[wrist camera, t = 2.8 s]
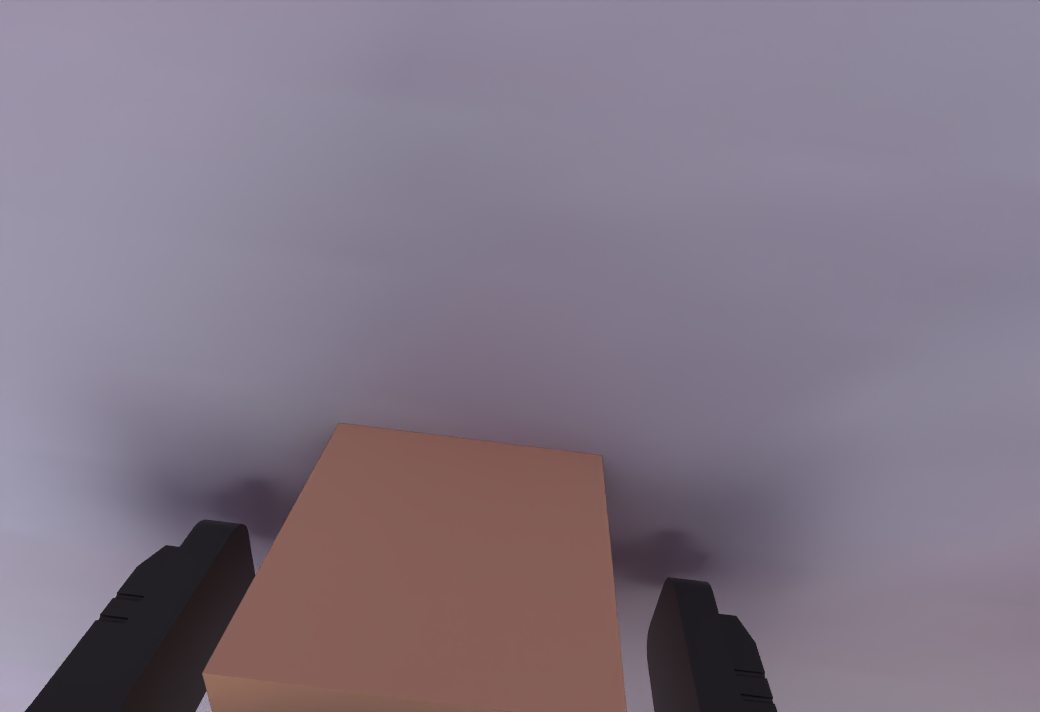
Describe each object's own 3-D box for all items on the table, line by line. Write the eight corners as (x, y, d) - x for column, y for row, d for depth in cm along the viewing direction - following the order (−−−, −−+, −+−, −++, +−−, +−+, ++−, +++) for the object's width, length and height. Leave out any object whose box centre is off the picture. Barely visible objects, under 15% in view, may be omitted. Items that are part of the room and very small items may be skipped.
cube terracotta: (601, 452, 11) (627, 724, 7) (563, 621, 14) (564, 898, 9) (340, 420, 11) (202, 673, 7) (348, 594, 14) (251, 861, 9)
